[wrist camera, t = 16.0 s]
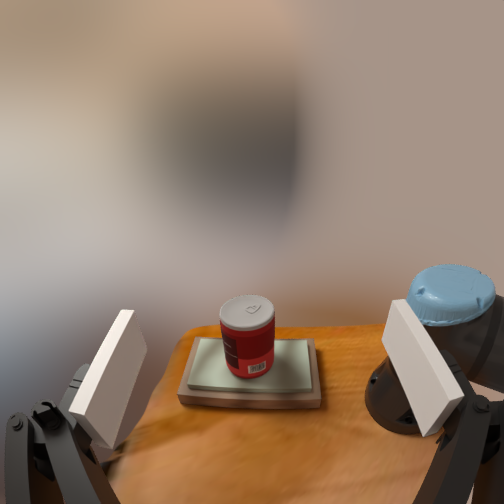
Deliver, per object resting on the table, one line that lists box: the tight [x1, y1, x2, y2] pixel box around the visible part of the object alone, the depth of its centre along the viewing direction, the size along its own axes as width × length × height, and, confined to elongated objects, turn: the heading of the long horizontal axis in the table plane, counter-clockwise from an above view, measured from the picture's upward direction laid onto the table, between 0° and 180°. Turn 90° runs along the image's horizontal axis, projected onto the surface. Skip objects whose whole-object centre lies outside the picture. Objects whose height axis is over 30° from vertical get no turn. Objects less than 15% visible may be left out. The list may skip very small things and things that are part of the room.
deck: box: [177, 337, 321, 409], centre depth 46 cm, size 22×14×4 cm, turn 86°
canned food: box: [220, 295, 275, 379], centre depth 43 cm, size 8×8×11 cm
